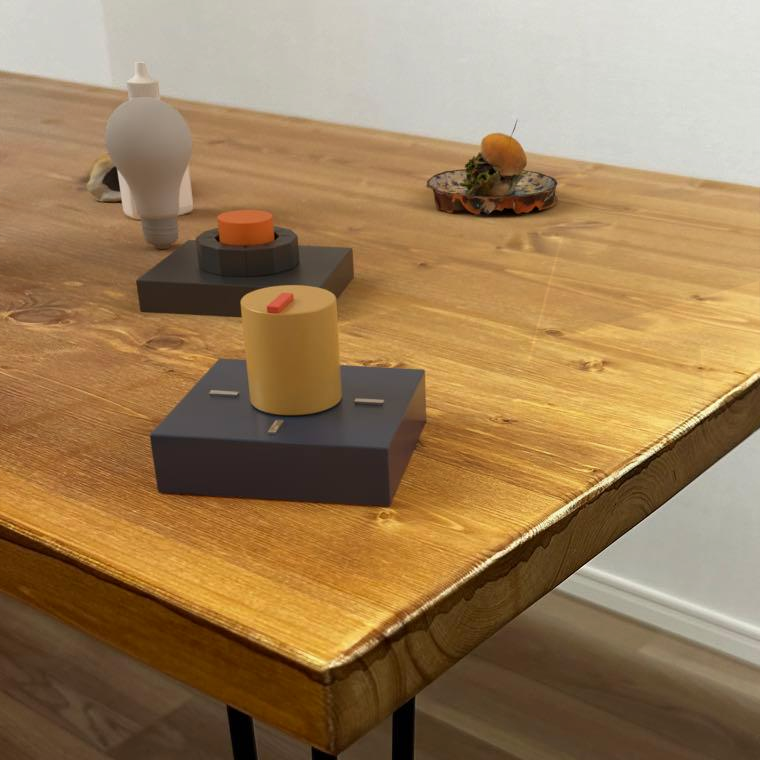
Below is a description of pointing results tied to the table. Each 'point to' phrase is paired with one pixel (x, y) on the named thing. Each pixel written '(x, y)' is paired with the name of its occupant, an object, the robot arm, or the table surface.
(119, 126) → the lightbulb
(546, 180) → the burger
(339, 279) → the button box
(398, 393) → the dial panel
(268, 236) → the button
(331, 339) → the dial
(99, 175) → the pastry
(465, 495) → the table surface
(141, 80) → the plastic bottle
